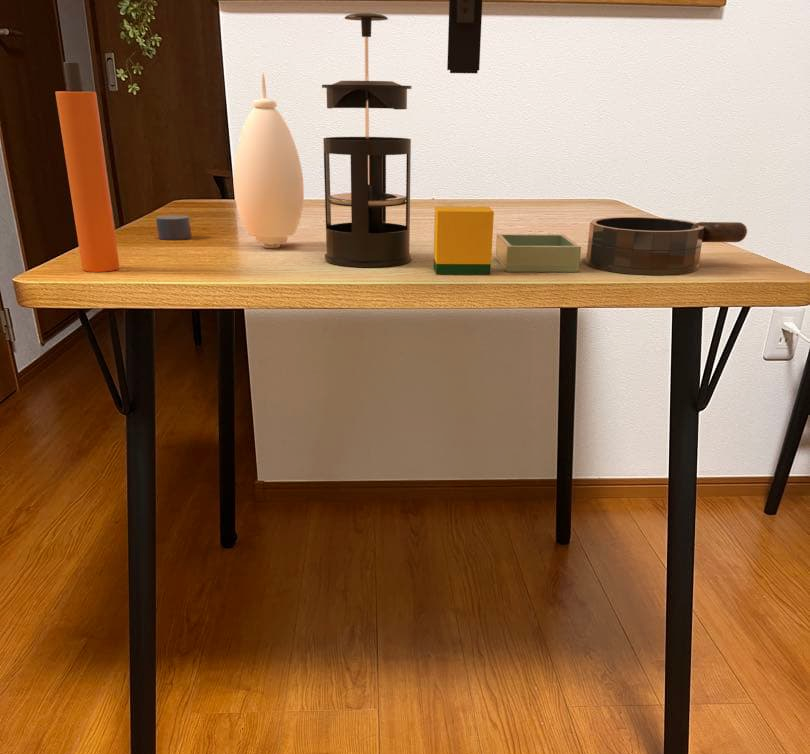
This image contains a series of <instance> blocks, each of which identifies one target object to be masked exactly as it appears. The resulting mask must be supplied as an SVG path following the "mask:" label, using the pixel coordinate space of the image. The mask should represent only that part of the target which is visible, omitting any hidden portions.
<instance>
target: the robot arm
mask: <svg viewBox="0 0 810 754" xmlns="http://www.w3.org/2000/svg"><path fill="white" fill-rule="evenodd" d="M482 17H483V0H449V1H448V31H447V32H448V33H447V63H446V65H447V66H446V67H447V68H446V70H447V71H449V73H450V74H478V71H480V64H481V61H480V60H481V39H482V19H483V18H482Z"/></svg>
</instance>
